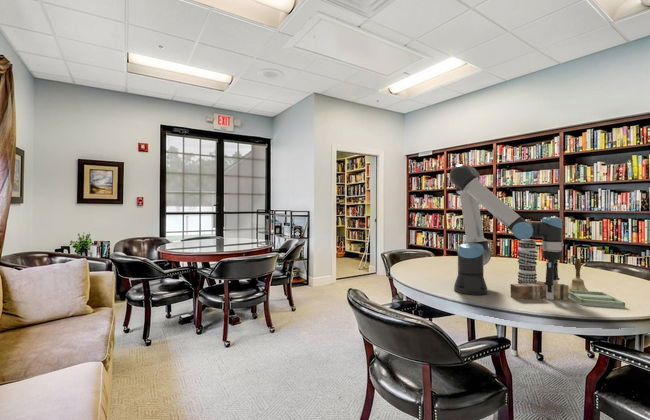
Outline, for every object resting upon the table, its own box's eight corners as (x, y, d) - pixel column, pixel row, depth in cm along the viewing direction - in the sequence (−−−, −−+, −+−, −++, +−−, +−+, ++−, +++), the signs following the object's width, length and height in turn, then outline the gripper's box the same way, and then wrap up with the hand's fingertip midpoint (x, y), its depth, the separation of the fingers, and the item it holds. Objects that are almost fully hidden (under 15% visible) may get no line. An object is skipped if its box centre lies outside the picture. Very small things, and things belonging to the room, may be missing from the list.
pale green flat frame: (581, 304, 135) (581, 299, 135) (564, 294, 152) (564, 289, 152) (625, 308, 131) (625, 302, 131) (602, 296, 147) (602, 292, 147)
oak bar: (535, 295, 150) (535, 282, 150) (537, 293, 154) (537, 280, 153) (567, 300, 142) (567, 286, 142) (568, 298, 145) (568, 284, 145)
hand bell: (592, 292, 155) (592, 260, 155) (573, 291, 156) (573, 259, 156) (582, 288, 163) (582, 257, 163) (564, 287, 165) (564, 257, 164)
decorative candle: (536, 285, 169) (536, 238, 169) (538, 289, 161) (538, 240, 161) (516, 283, 174) (516, 238, 173) (517, 287, 165) (517, 239, 165)
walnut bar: (516, 299, 143) (516, 286, 143) (510, 296, 148) (510, 283, 148) (542, 299, 144) (542, 285, 144) (535, 296, 148) (535, 283, 148)
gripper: (558, 254, 136) (558, 303, 136) (565, 248, 154) (565, 292, 154) (537, 252, 141) (537, 300, 141) (546, 247, 159) (546, 289, 159)
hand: (552, 296), depth 148 cm, fingers open, 12 cm apart
